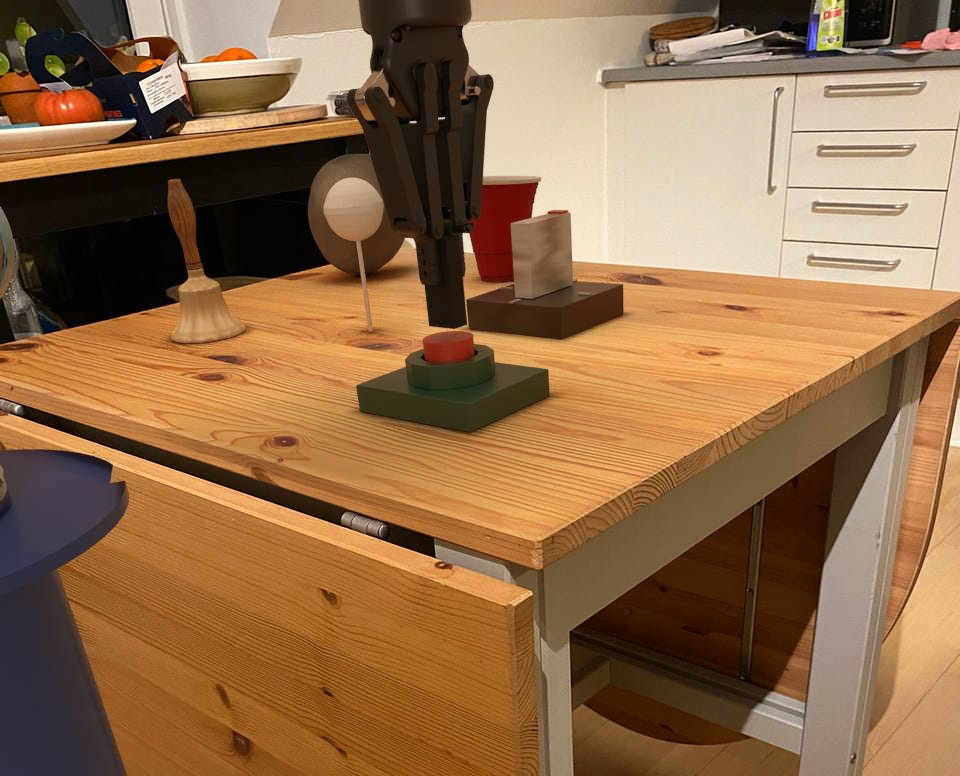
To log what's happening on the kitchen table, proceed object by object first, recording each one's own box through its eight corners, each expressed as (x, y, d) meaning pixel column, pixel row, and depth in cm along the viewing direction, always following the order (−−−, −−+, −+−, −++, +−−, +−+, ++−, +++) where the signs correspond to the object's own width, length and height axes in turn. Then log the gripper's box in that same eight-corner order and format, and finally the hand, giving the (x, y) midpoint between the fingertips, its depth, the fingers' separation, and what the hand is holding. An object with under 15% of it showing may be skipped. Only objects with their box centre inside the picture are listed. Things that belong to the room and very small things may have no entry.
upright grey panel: (532, 299, 98) (527, 221, 94) (515, 297, 99) (510, 220, 95) (573, 284, 102) (570, 209, 99) (556, 283, 103) (553, 209, 100)
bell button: (414, 363, 78) (412, 340, 77) (447, 350, 80) (445, 329, 80) (452, 368, 76) (449, 345, 75) (485, 355, 78) (483, 333, 77)
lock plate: (467, 329, 102) (464, 297, 101) (532, 305, 109) (531, 276, 108) (561, 339, 95) (560, 305, 93) (624, 313, 102) (624, 282, 101)
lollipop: (363, 340, 102) (341, 182, 94) (331, 334, 105) (307, 181, 98) (410, 327, 105) (391, 173, 97) (377, 321, 109) (357, 173, 101)
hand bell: (248, 336, 108) (216, 177, 100) (171, 347, 106) (133, 186, 98) (243, 321, 115) (213, 172, 107) (171, 332, 113) (135, 180, 105)
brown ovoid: (295, 283, 134) (274, 162, 127) (365, 263, 144) (350, 149, 136) (370, 288, 126) (353, 159, 119) (439, 267, 136) (427, 146, 128)
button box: (359, 411, 80) (351, 362, 78) (440, 379, 86) (435, 333, 84) (470, 432, 73) (465, 379, 71) (550, 395, 79) (547, 346, 77)
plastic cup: (563, 274, 123) (559, 169, 117) (491, 289, 119) (483, 181, 113) (515, 265, 132) (509, 167, 126) (446, 279, 127) (437, 178, 121)
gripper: (381, -49, 58) (427, 350, 70) (515, -47, 67) (536, 310, 79) (298, -31, 63) (355, 341, 75) (434, -32, 71) (465, 304, 83)
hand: (448, 325), depth 77 cm, fingers closed
